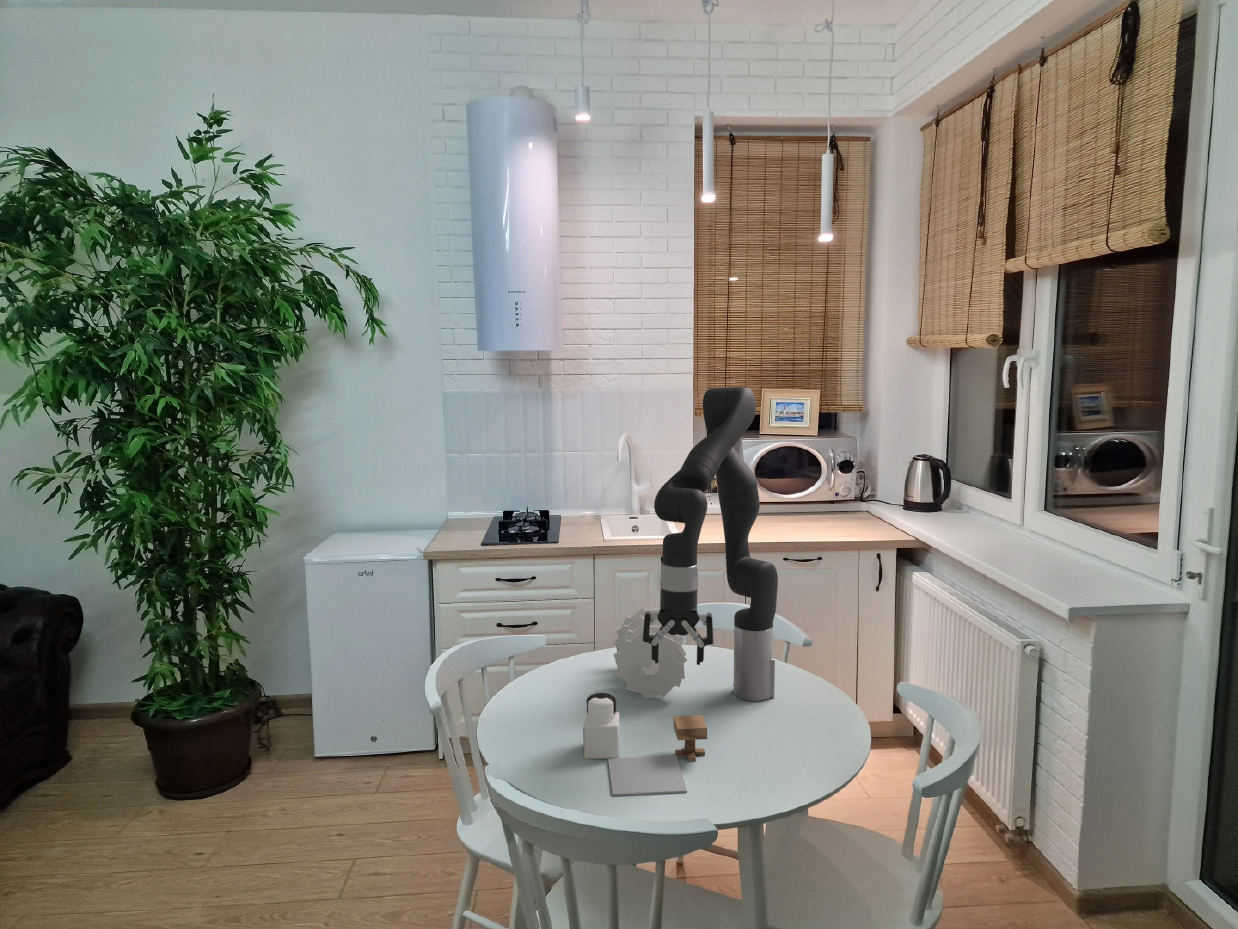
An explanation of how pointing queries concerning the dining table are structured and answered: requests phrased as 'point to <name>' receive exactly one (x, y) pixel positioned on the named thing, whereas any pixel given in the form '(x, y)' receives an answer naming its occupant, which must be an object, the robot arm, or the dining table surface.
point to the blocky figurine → (601, 727)
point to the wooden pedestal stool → (690, 735)
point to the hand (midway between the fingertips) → (677, 663)
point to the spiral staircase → (648, 657)
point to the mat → (646, 775)
